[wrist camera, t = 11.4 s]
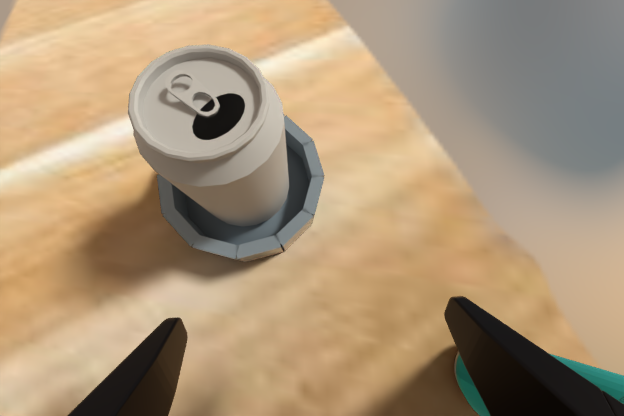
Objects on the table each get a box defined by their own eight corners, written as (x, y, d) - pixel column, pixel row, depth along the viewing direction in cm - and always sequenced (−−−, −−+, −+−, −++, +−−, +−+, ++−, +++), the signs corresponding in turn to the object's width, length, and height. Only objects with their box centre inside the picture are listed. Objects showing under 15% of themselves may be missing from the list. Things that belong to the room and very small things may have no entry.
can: (252, 246, 21) (200, 208, 10) (187, 194, 22) (69, 102, 11) (306, 181, 23) (315, 86, 12) (244, 136, 24) (196, 5, 12)
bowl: (298, 276, 22) (298, 276, 18) (155, 238, 22) (129, 230, 19) (331, 148, 25) (337, 128, 22) (209, 116, 26) (195, 91, 22)
